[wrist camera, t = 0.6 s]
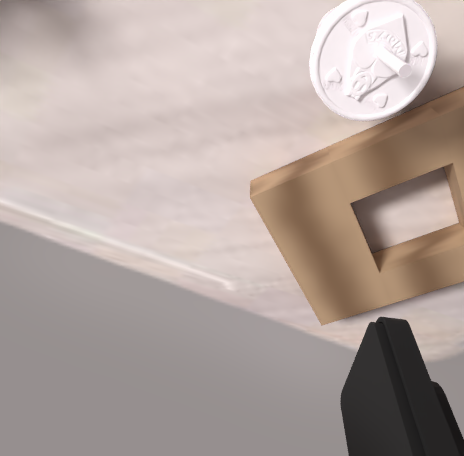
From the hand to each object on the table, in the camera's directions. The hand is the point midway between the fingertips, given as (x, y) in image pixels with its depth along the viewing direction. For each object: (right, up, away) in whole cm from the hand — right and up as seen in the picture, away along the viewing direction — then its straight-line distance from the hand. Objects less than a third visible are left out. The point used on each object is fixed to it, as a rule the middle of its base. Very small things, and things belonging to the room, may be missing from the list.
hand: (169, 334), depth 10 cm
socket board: (+17, +5, +27) cm, 32 cm away
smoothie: (+9, +16, +20) cm, 27 cm away
